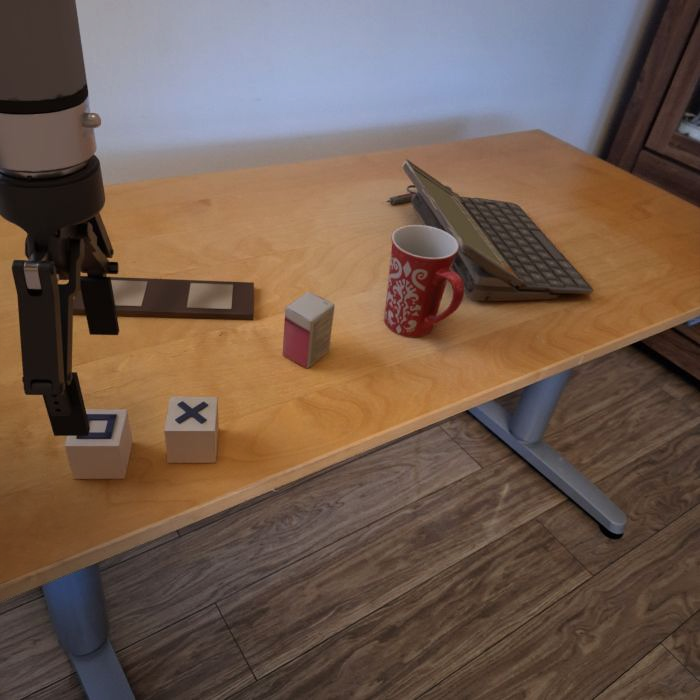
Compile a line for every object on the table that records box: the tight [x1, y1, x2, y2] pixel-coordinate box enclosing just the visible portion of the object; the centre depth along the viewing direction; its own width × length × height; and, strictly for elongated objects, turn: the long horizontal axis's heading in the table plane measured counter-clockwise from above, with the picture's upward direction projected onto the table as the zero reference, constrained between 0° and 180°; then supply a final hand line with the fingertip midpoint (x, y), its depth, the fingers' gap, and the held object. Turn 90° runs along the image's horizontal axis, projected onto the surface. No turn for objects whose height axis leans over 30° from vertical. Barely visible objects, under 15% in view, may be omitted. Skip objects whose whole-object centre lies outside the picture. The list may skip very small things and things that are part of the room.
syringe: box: [381, 184, 453, 205], centre depth 121 cm, size 8×18×2 cm, turn 124°
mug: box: [383, 224, 465, 338], centre depth 84 cm, size 13×9×14 cm
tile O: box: [64, 408, 133, 480], centre depth 63 cm, size 5×5×5 cm
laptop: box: [401, 159, 594, 302], centre depth 106 cm, size 26×32×10 cm
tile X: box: [163, 395, 220, 464], centre depth 66 cm, size 5×5×5 cm
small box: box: [282, 291, 336, 369], centre depth 79 cm, size 5×4×8 cm
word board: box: [73, 276, 255, 321], centre depth 87 cm, size 24×8×1 cm, turn 96°
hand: (90, 378), depth 57 cm, fingers open, 13 cm apart
